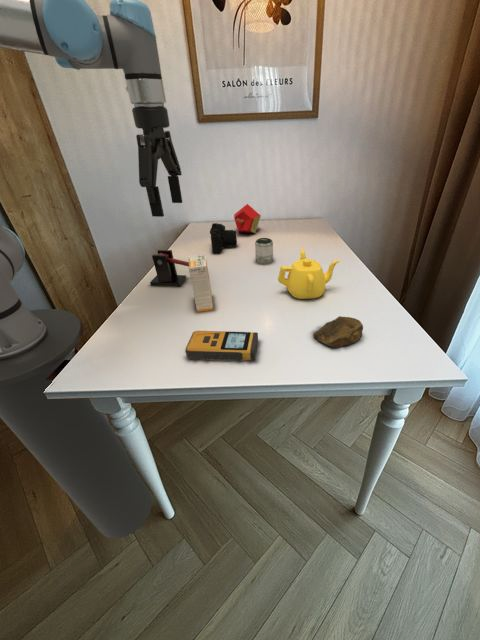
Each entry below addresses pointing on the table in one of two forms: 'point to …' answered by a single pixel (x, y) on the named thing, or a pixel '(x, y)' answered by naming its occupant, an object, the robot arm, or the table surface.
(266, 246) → the glass jar
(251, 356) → the electronic device
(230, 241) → the film camera
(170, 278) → the lever bracket
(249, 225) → the red pentagonal block
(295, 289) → the teapot
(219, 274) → the table surface
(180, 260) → the lever switch
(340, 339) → the decorative stone
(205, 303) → the supplement box
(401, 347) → the table surface
